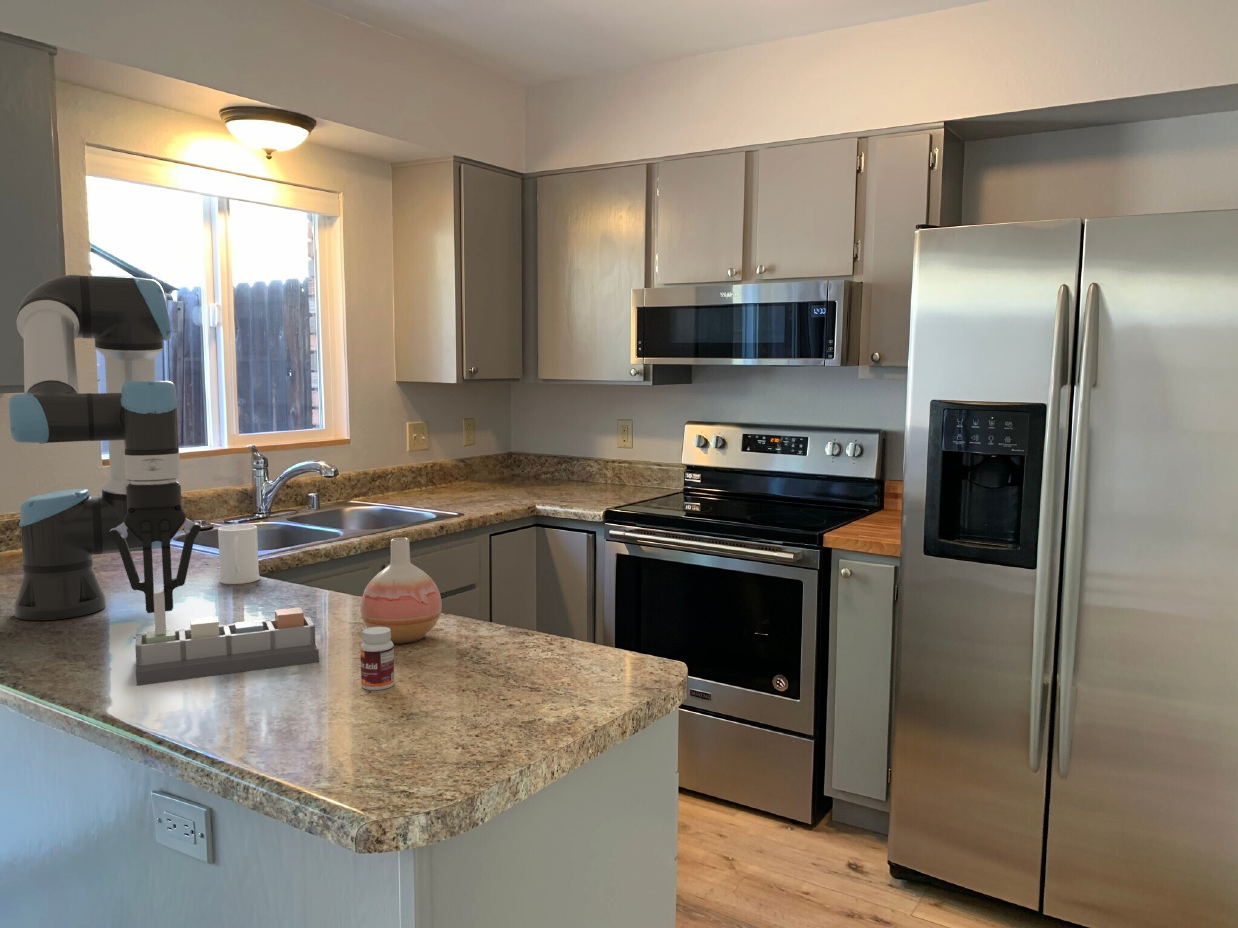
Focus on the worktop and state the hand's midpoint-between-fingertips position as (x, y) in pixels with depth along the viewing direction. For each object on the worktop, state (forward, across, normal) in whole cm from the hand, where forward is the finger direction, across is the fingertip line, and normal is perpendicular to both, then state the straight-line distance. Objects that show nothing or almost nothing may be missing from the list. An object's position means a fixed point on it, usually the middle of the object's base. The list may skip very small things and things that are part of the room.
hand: (160, 632), depth 146 cm
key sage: (+3, 0, 0) cm, 3 cm away
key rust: (+2, +19, 0) cm, 19 cm away
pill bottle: (+6, +28, -23) cm, 37 cm away
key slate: (+3, +13, 0) cm, 13 cm away
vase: (+6, +38, 0) cm, 38 cm away
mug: (+6, +16, +62) cm, 64 cm away
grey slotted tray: (+6, +10, 0) cm, 11 cm away
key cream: (+2, +6, 0) cm, 6 cm away
